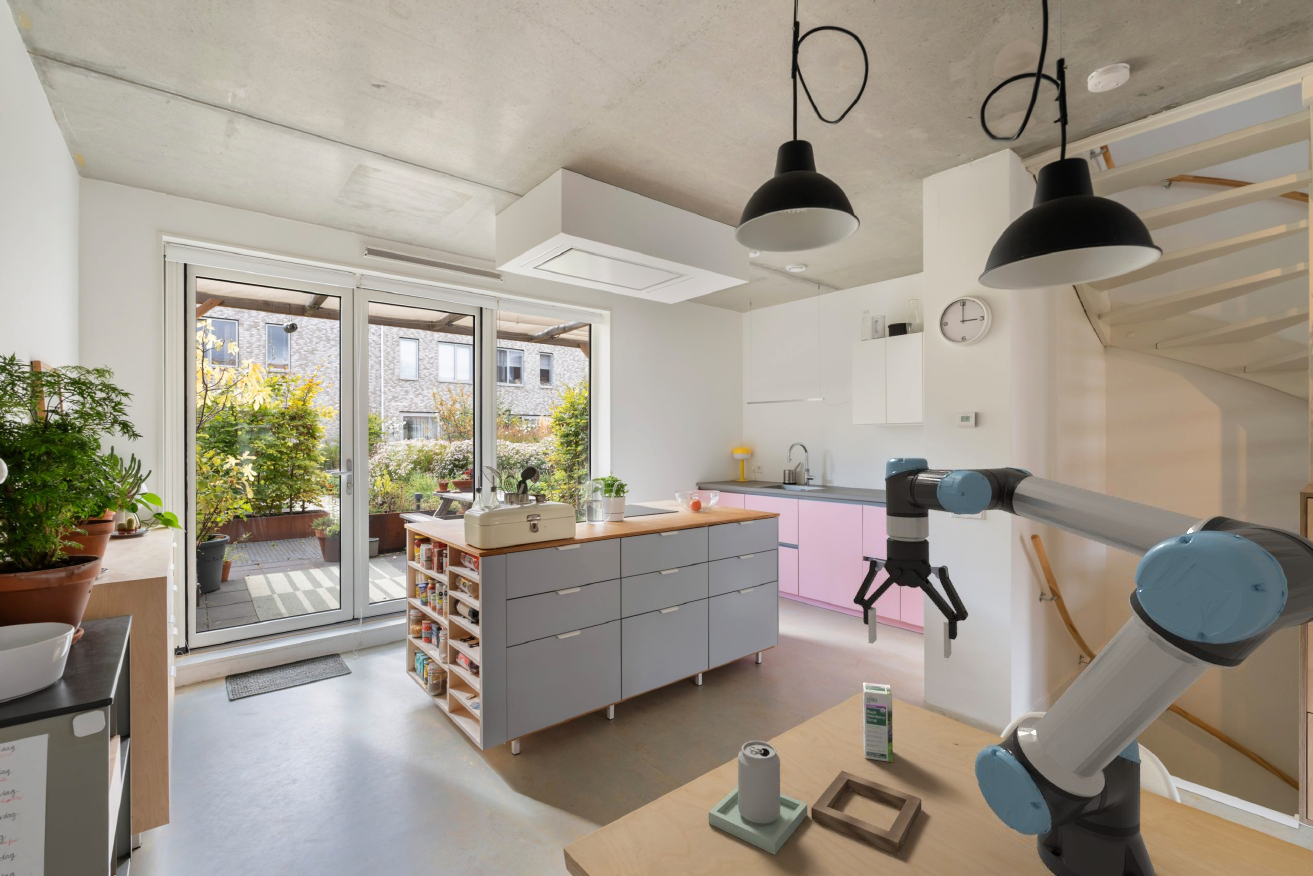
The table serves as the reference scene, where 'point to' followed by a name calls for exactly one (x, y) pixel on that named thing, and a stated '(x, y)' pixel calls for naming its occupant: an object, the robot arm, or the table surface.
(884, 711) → the syrup box
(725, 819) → the tray
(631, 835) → the table surface
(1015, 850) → the table surface
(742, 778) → the can
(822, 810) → the holder
